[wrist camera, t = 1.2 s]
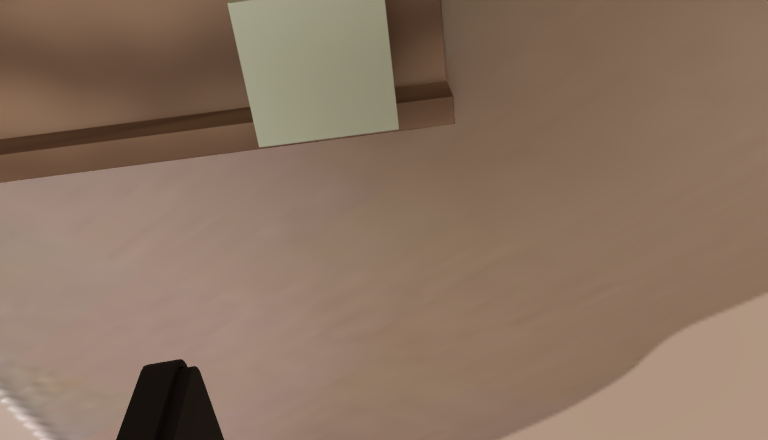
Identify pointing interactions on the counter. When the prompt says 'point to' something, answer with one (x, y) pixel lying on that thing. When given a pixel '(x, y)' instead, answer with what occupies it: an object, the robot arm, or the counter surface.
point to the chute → (163, 82)
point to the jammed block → (315, 68)
